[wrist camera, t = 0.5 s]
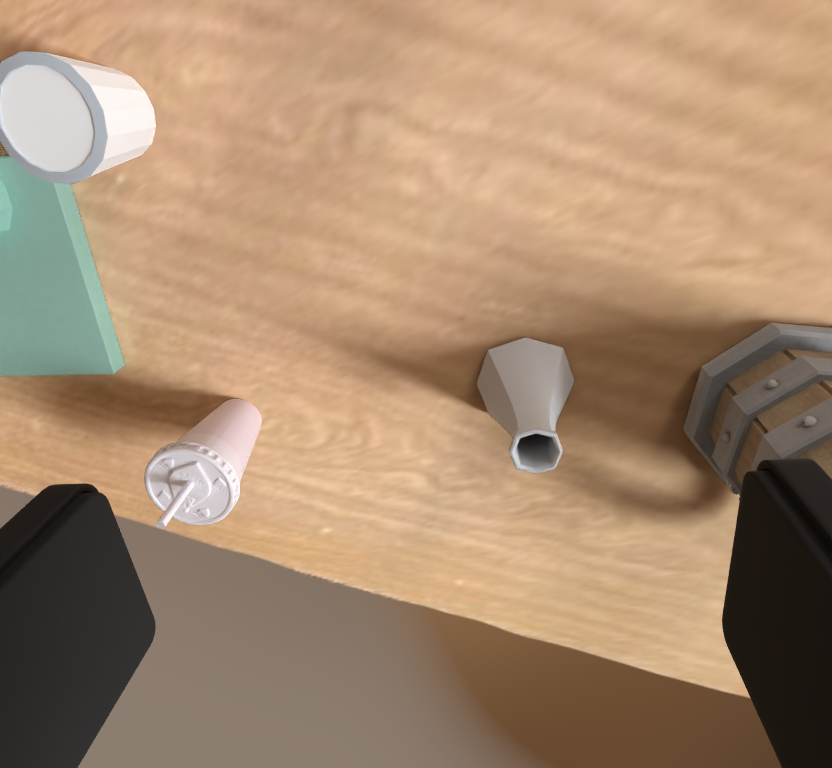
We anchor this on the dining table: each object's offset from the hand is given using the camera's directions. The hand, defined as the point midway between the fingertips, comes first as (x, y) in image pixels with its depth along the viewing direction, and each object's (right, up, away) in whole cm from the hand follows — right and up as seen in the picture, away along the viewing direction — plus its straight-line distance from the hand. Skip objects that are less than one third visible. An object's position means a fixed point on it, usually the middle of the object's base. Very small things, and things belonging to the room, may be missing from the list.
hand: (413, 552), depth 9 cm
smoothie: (-14, 0, +41) cm, 43 cm away
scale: (-30, +11, +36) cm, 49 cm away
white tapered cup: (-20, +20, +31) cm, 42 cm away
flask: (+8, +3, +37) cm, 38 cm away
